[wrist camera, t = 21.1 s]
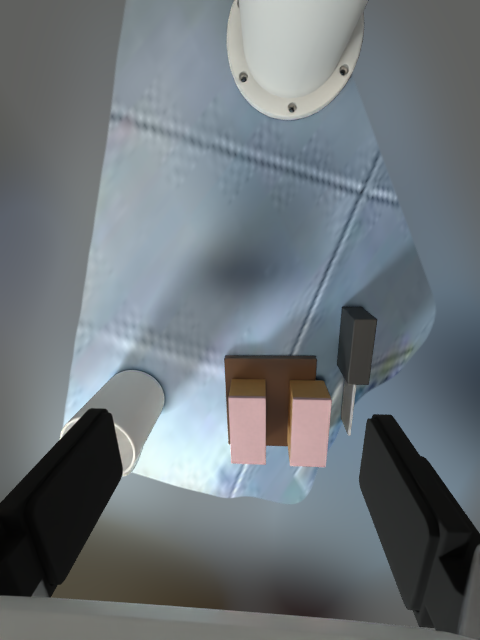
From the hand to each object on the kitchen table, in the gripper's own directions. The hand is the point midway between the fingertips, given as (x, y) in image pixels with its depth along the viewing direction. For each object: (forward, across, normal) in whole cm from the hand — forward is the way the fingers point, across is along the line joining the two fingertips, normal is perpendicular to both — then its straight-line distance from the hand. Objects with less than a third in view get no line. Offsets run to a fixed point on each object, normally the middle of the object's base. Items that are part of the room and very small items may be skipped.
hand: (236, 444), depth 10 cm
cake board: (+26, -2, +16) cm, 31 cm away
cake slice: (+25, -7, +17) cm, 31 cm away
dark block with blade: (+26, -12, +10) cm, 31 cm away
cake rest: (+25, +1, +17) cm, 30 cm away
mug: (+26, +17, +17) cm, 36 cm away
